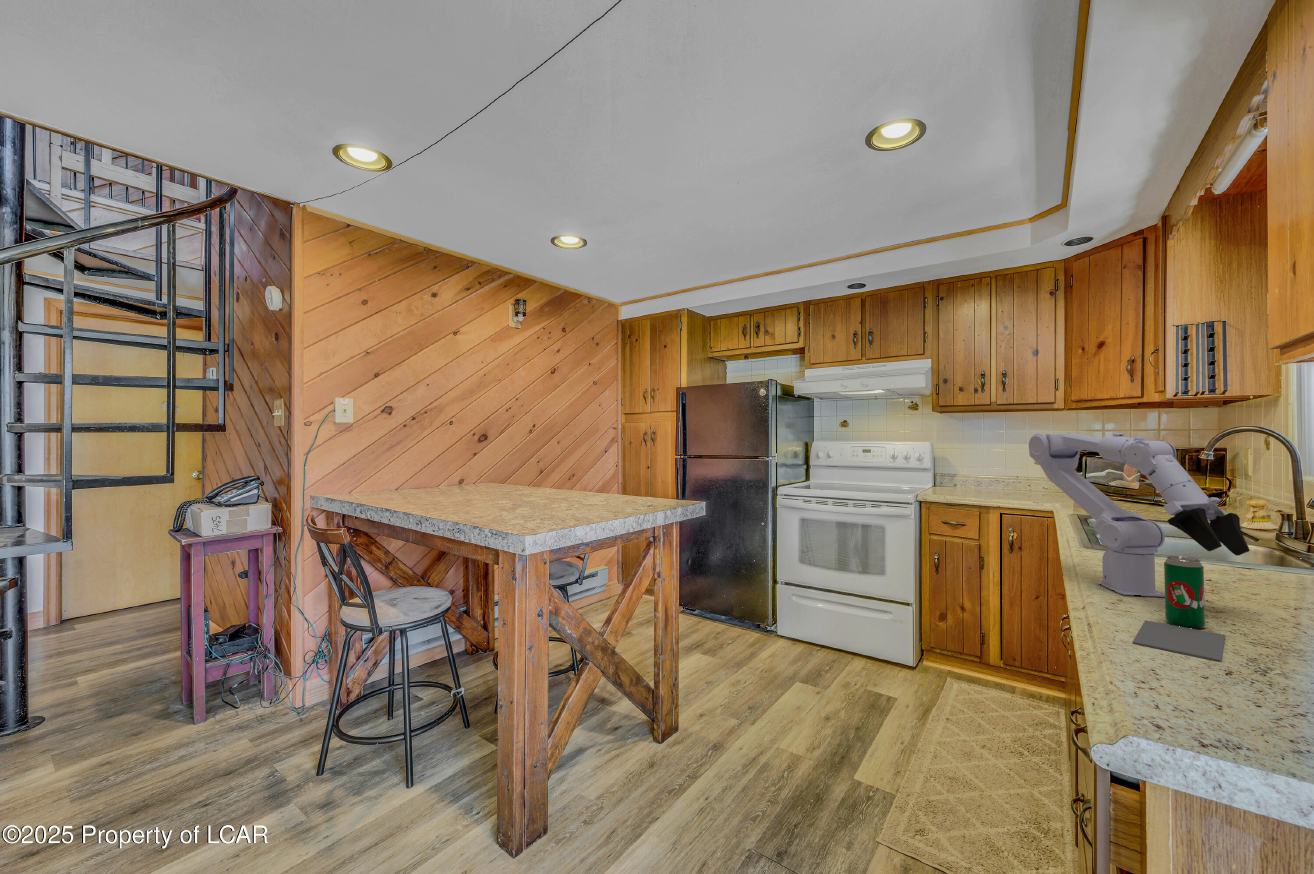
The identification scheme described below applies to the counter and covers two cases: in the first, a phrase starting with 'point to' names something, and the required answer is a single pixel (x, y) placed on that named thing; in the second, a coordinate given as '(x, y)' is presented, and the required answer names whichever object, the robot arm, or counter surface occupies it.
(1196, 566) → the soda can
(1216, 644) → the mat
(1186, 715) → the counter surface
